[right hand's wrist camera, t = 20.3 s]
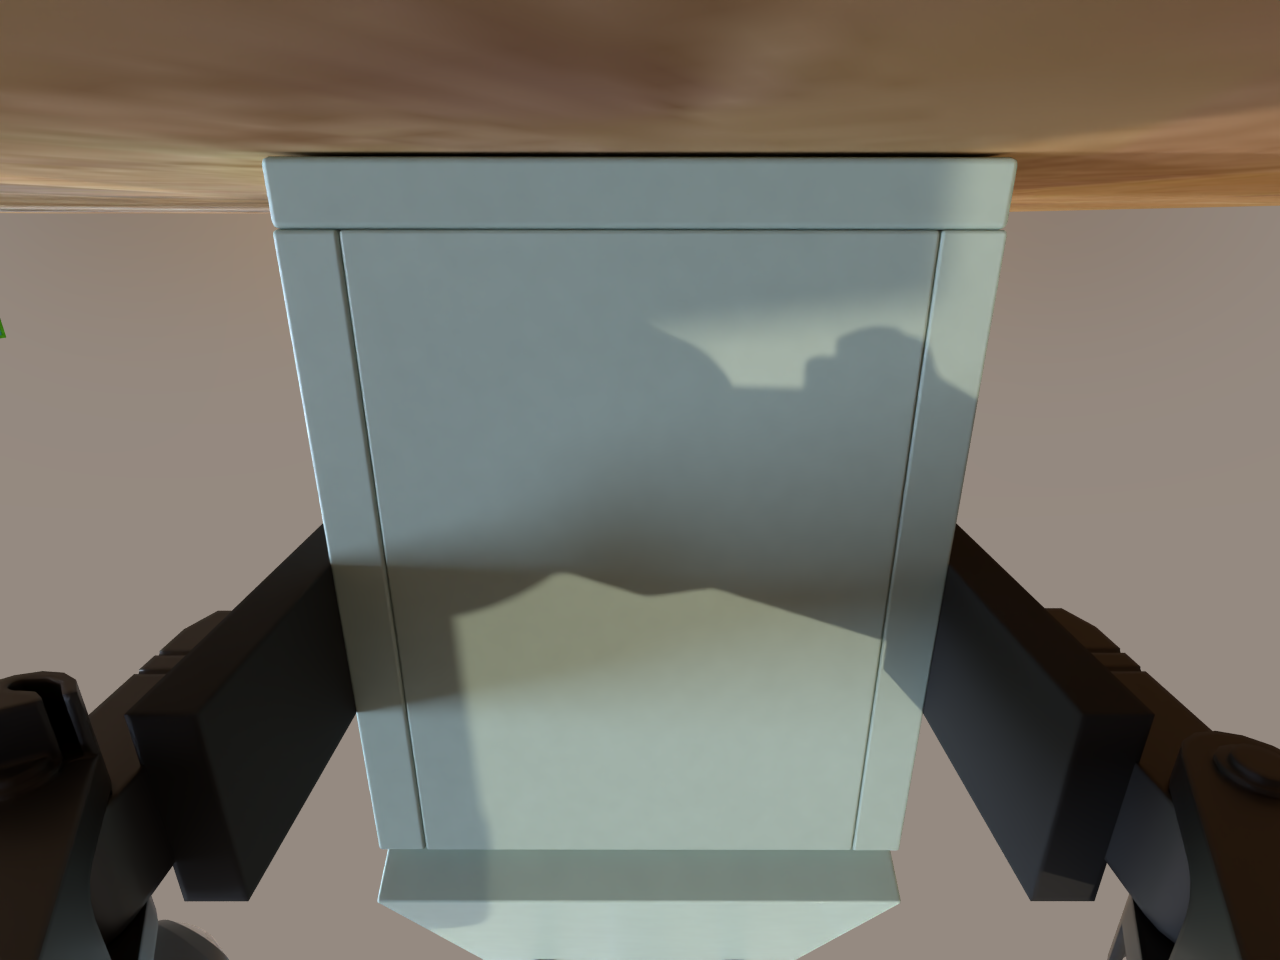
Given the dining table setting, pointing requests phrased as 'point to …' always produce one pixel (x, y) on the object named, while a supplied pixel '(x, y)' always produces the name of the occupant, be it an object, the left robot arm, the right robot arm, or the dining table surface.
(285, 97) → the dining table surface
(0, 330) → the toy car
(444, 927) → the lid
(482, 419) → the chest
